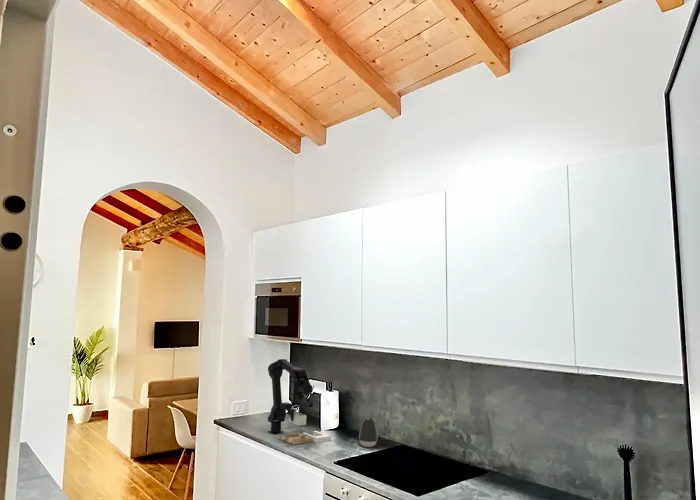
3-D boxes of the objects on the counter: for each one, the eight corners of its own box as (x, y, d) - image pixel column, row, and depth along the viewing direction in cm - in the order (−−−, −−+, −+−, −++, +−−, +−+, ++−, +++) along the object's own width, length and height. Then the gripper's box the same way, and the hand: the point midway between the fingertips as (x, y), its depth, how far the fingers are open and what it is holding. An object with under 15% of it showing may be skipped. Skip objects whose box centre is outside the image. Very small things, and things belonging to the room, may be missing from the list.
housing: (301, 437, 291) (302, 432, 291) (315, 435, 297) (316, 430, 297) (316, 443, 280) (316, 438, 280) (330, 440, 286) (330, 436, 287)
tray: (279, 439, 285) (279, 435, 285) (297, 436, 293) (297, 432, 293) (293, 444, 274) (293, 441, 274) (311, 442, 282) (311, 438, 282)
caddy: (286, 420, 288) (287, 408, 289) (294, 420, 291) (294, 407, 292) (298, 425, 278) (298, 412, 279) (305, 424, 281) (306, 411, 282)
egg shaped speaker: (379, 444, 282) (380, 416, 284) (375, 449, 272) (376, 420, 274) (361, 442, 285) (362, 414, 287) (356, 447, 275) (357, 418, 277)
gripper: (291, 395, 274) (290, 425, 273) (319, 393, 286) (318, 422, 284) (280, 392, 283) (278, 421, 281) (308, 390, 295) (307, 418, 293)
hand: (296, 420), depth 285 cm, fingers closed on caddy, 5 cm apart
